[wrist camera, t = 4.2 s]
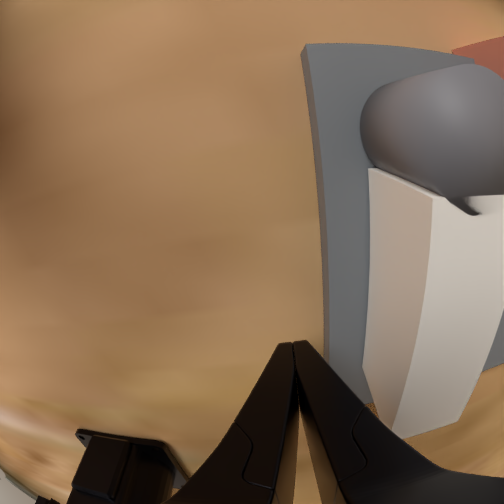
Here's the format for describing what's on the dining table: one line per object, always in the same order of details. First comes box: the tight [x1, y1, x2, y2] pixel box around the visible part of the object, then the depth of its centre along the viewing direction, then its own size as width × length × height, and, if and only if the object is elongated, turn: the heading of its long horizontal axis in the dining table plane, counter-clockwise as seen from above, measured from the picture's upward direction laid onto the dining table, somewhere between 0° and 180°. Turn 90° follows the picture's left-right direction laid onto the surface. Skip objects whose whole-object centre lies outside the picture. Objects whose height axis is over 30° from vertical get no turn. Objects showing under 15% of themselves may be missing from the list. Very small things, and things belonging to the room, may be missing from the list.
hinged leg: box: [360, 64, 504, 439], centre depth 7 cm, size 9×3×4 cm, turn 8°
